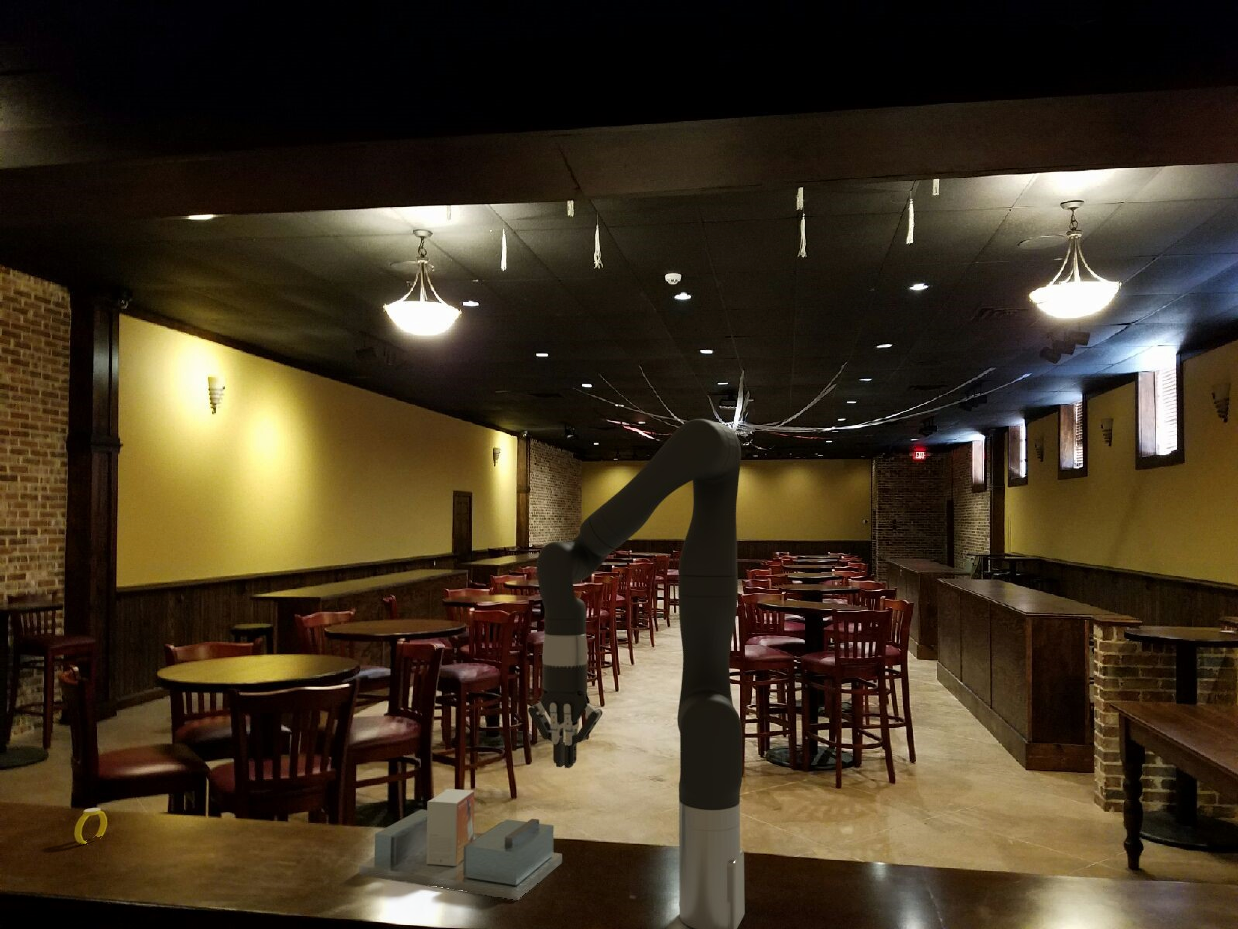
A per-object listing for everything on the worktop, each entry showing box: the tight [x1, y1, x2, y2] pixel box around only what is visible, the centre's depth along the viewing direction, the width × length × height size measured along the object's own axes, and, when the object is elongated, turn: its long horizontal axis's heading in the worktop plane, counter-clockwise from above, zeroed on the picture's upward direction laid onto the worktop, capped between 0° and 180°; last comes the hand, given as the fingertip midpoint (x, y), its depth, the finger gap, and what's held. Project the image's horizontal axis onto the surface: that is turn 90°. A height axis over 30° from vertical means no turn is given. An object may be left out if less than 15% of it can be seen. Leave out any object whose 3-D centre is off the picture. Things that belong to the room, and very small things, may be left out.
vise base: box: [358, 809, 563, 901], centre depth 151 cm, size 30×17×6 cm, turn 69°
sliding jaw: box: [463, 818, 554, 885], centre depth 148 cm, size 10×14×6 cm
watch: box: [74, 807, 108, 845], centre depth 164 cm, size 6×3×6 cm, turn 164°
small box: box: [426, 788, 475, 866], centre depth 152 cm, size 8×6×10 cm
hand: (564, 766), depth 146 cm, fingers closed
